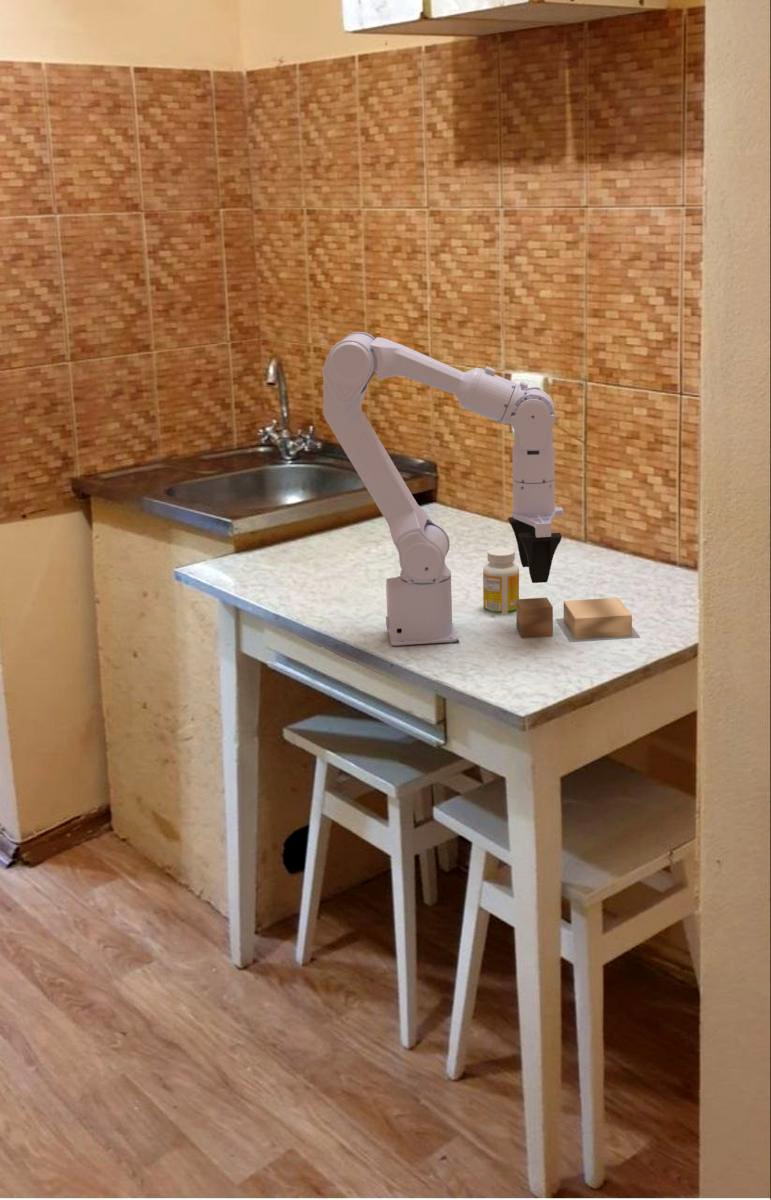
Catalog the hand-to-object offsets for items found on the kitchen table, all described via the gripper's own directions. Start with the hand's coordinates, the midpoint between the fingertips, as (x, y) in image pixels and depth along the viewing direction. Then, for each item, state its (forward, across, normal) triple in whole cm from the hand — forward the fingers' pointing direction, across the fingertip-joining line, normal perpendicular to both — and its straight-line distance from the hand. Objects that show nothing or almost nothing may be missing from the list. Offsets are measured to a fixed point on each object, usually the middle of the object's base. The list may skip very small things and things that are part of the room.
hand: (534, 573), depth 181 cm
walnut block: (+9, 0, 0) cm, 9 cm away
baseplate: (+9, 0, -9) cm, 13 cm away
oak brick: (+9, 0, -9) cm, 12 cm away
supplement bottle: (+9, +11, +3) cm, 15 cm away
